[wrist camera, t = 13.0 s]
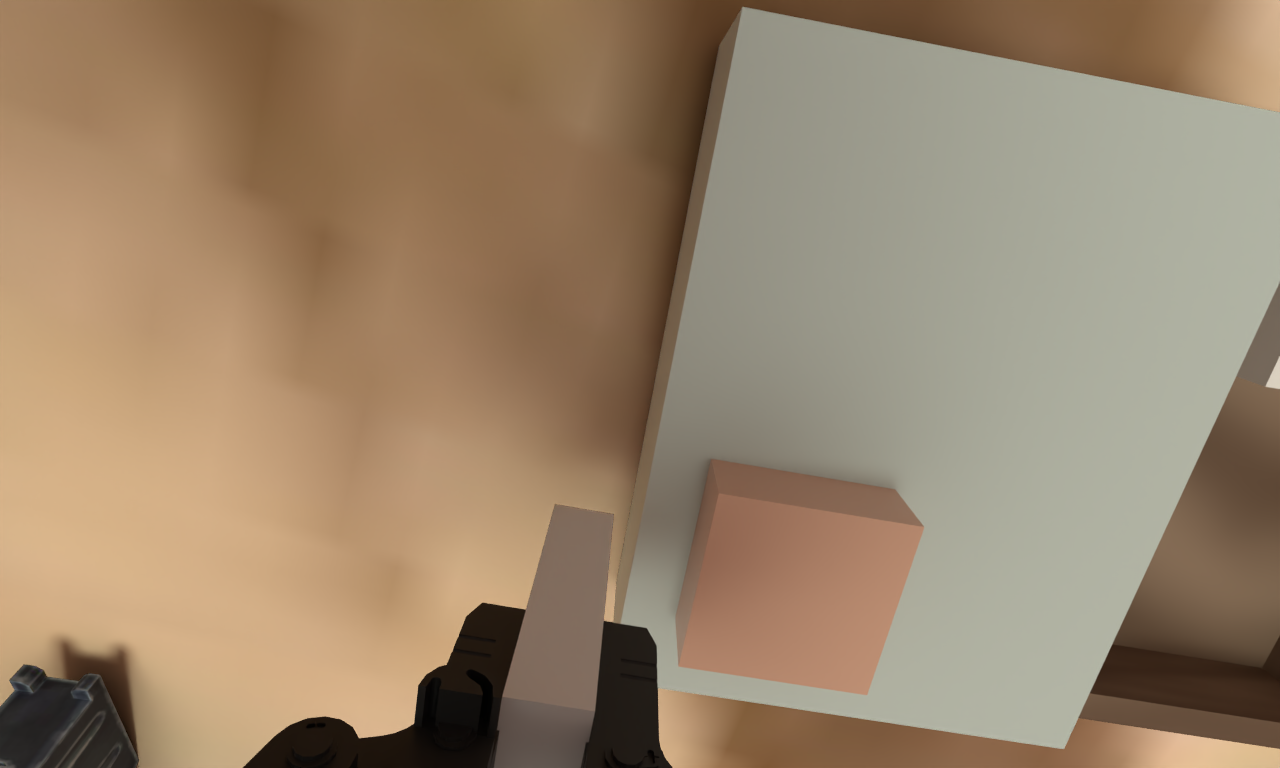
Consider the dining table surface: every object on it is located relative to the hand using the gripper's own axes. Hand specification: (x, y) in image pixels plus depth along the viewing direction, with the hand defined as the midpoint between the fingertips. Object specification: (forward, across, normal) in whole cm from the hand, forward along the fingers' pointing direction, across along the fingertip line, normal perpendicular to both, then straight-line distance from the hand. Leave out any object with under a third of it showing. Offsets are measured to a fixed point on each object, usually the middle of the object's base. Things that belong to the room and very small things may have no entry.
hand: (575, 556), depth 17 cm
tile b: (+1, +6, 0) cm, 6 cm away
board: (+6, +8, +4) cm, 11 cm away
